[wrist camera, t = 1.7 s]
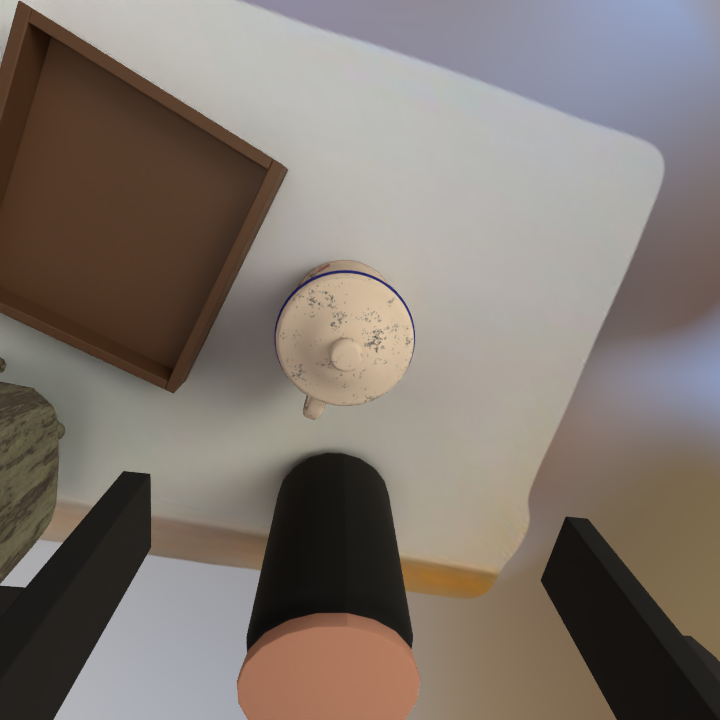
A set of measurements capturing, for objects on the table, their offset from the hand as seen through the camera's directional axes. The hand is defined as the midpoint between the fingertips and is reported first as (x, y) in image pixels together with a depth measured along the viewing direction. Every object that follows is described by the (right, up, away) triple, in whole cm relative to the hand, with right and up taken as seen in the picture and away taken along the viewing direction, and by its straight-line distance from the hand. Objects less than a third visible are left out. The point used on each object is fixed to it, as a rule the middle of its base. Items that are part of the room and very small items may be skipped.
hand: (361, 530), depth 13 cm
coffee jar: (-3, -8, +28) cm, 29 cm away
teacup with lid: (-2, +8, +22) cm, 24 cm away
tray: (-18, +16, +18) cm, 30 cm away
